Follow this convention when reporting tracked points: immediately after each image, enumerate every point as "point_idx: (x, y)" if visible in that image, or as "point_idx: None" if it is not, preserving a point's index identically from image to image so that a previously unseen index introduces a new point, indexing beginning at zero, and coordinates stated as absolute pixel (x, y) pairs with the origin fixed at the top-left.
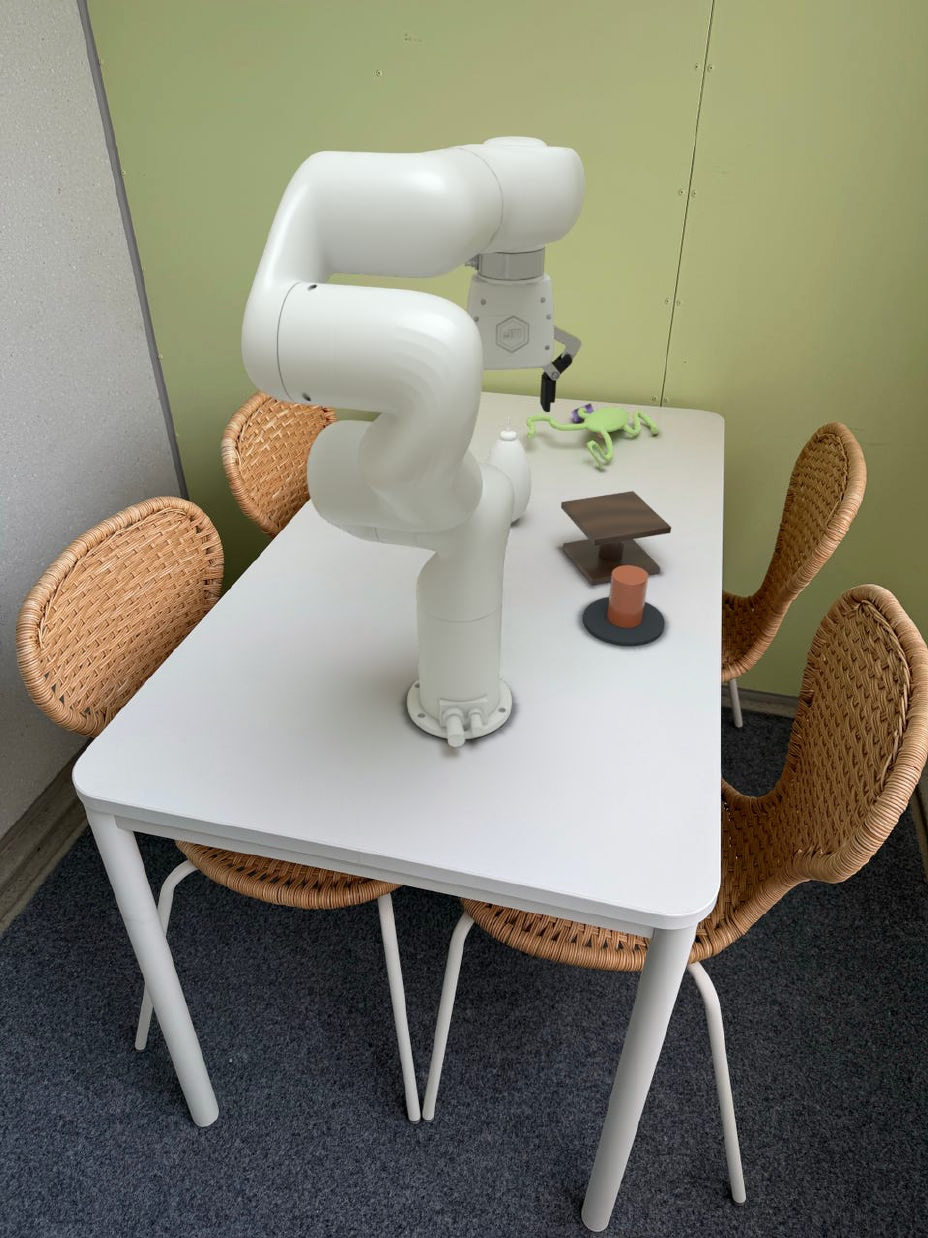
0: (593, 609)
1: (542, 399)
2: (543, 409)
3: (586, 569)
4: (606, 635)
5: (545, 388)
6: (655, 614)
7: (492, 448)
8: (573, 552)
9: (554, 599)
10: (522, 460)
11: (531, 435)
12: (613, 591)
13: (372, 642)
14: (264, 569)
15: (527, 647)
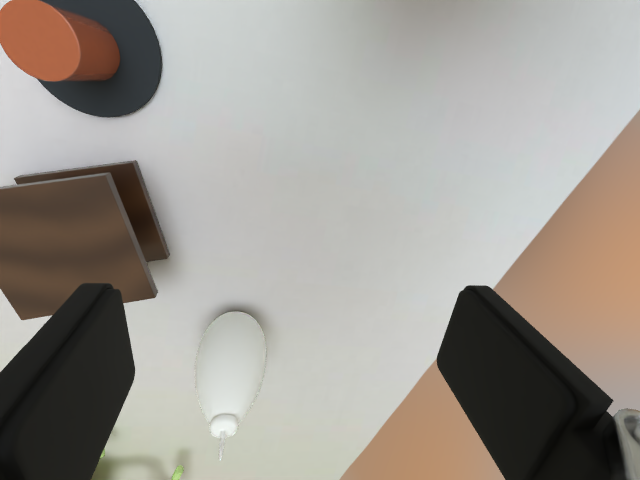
0: (140, 86)
1: (112, 364)
2: (121, 305)
3: (139, 190)
4: (126, 4)
5: (43, 389)
6: None
7: (251, 405)
8: (154, 235)
9: (198, 134)
10: (206, 381)
11: (178, 469)
12: (88, 36)
13: (453, 81)
14: (515, 252)
15: (258, 15)
